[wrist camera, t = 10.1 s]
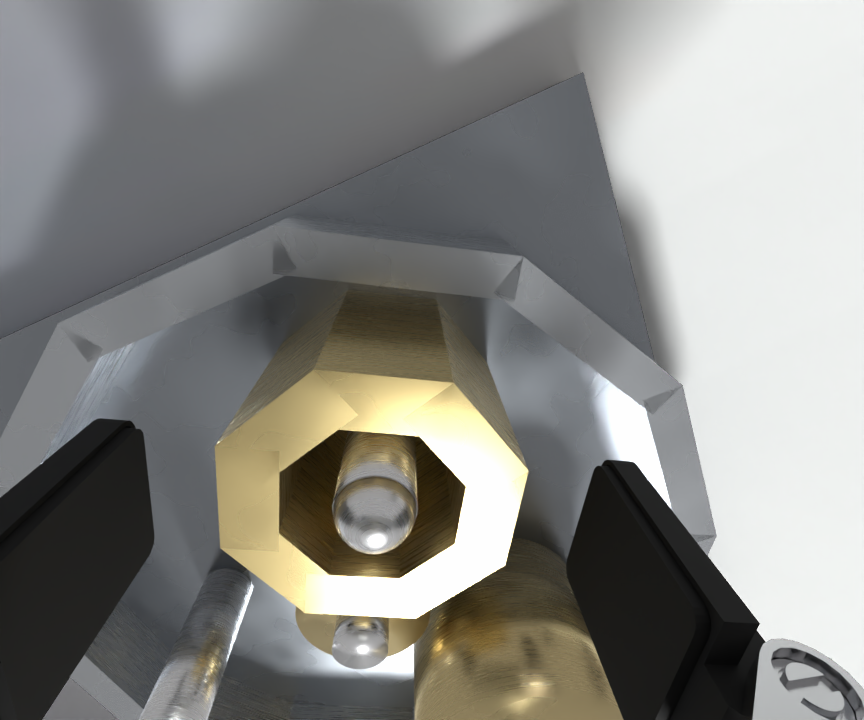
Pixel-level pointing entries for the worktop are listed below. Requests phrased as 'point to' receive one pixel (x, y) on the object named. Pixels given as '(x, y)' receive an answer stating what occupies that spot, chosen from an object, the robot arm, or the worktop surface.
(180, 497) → the carrier
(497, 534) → the gear
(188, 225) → the worktop surface
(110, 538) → the robot arm
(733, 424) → the worktop surface
